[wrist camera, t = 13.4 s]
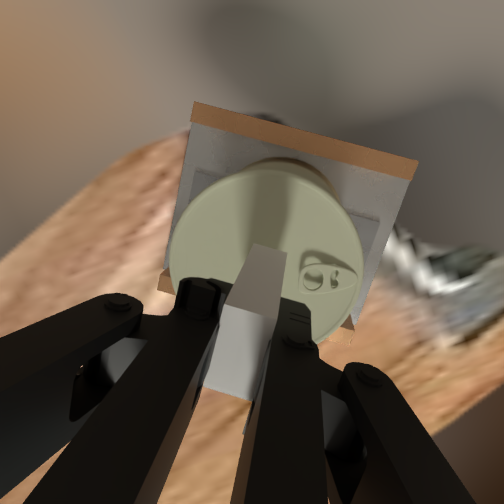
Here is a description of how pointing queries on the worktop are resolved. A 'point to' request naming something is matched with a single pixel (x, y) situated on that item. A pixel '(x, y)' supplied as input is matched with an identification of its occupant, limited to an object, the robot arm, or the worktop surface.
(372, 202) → the rail holder
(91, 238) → the worktop surface
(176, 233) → the can
